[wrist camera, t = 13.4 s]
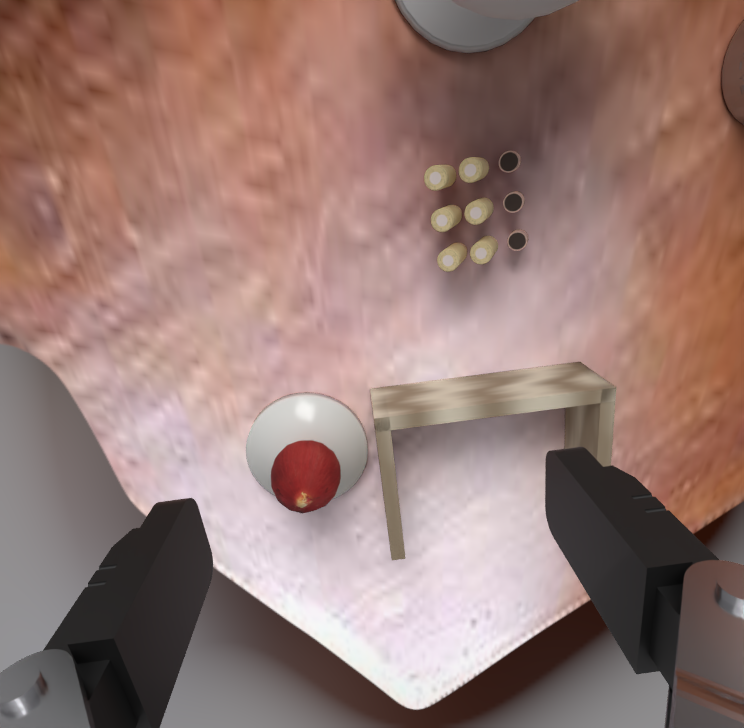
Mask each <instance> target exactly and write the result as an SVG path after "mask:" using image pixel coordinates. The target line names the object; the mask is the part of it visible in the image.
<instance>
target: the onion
mask: <svg viewBox="0 0 744 728" xmlns="http://www.w3.org/2000/svg"><path fill="white" fill-rule="evenodd" d="M340 480H341V469H340V463H339V461H338V459H337V457H336V455H335V453H334V452H333V451H332V450H331V449H329V448H328V447H327V446H326V445H324V444H323V443H320V442H317V441H313V440H301V441H297V442H294V443H291V444H289V445H287V446H286V447H285V448H284V449H283V450H282V451H281V452H280V453H279V454H278V455H277V456H276V458H275V460H274V463H273V466H272V469H271V487H272V490H273V492H274V494H275V496H276V498H277V500H278V501H279V502H280V503H281V504H282V505H284V506H285V507H286V508H288V509H289V510H291V511H295V512H299V513H306V512H311V511H314V510H317V509H319V508H321V507H324V506H326V505H327V504H328V503H329V502H330V500H331V499H332V498H333V497H334V496H335V494H336V492H337V489H338V487H339V484H340Z"/></svg>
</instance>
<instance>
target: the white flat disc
mask: <svg viewBox="0 0 744 728" xmlns="http://www.w3.org/2000/svg"><path fill="white" fill-rule="evenodd" d="M301 440H313V441H317V442H320V443H323V444H324V445H326V446H327V447H328V448H329V449H331V450H332V451H333V452H334V453H335V455H336V457H337V459H338V461H339V463H340V469H341V480H340V484H339V487H338V489H337V492H336V494H335V496H334V497H333V498H332V499H334V498H336V497H338V496H340V495H342V494H343V493H345V492H346V491H348V490H349V489H350V488H351V487H352V486H353V485H354V484H355V483H356V482H357V481H358V479H359V478H360V476H361V474H362V473H363V470H364V468H365V465H366V461H367V453H368V450H367V438H366V434H365V430H364V428H363V425H362V423H361V421H360V420H359V418H358V417H357V416H356V414H355V413H354V412H353V411H352V410H351V409H350V408H349V407H348V406H346V405H345V404H344V403H342V402H340V401H339V400H337V399H335V398H332V397H330V396H327V395H324V394H319V393H309V392H304V393H295V394H290V395H287V396H284V397H281V398H279V399H277V400H275V401H274V402H272V403H271V404H269V405H268V406H267V407H266V408H264V409H263V410H262V411H261V413H260V414H259V415H258V416H257V418H256V419H255V421H254V423H253V425H252V427H251V430H250V432H249V435H248V439H247V444H246V457H247V462H248V465H249V468H250V470H251V472H252V474H253V476H254V477H255V479H256V480H257V481H258V482H259V484H260V485H261V486H262V487H264V488H265V489H266V490H267V491H269V492H270V493H271V494H273V495H275V494H274V492H273V490H272V487H271V469H272V466H273V463H274V460H275V458H276V456H277V455H278V454H279V453H280V452H281V451H282V450H283V449H284V448H285V447H286V446H287V445H289V444H291V443H294V442H297V441H301ZM332 499H331V500H332Z"/></svg>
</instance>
